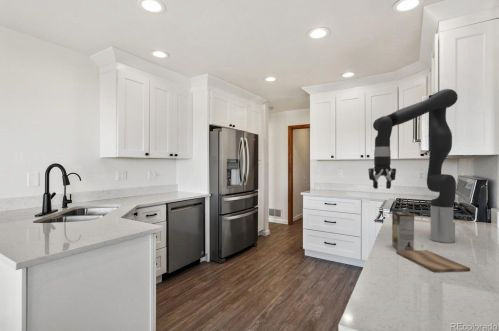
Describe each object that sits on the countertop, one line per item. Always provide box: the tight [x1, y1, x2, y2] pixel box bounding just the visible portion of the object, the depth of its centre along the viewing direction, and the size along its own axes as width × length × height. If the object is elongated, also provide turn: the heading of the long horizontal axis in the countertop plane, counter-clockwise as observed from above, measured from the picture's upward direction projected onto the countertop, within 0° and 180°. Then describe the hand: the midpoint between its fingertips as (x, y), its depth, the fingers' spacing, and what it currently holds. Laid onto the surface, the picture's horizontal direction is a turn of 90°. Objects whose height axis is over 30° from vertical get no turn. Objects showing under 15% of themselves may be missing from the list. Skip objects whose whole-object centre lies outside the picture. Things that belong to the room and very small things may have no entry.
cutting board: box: [395, 249, 471, 273], centre depth 102 cm, size 14×20×1 cm
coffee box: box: [391, 211, 415, 251], centre depth 118 cm, size 9×6×16 cm
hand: (382, 188), depth 135 cm, fingers open, 6 cm apart
